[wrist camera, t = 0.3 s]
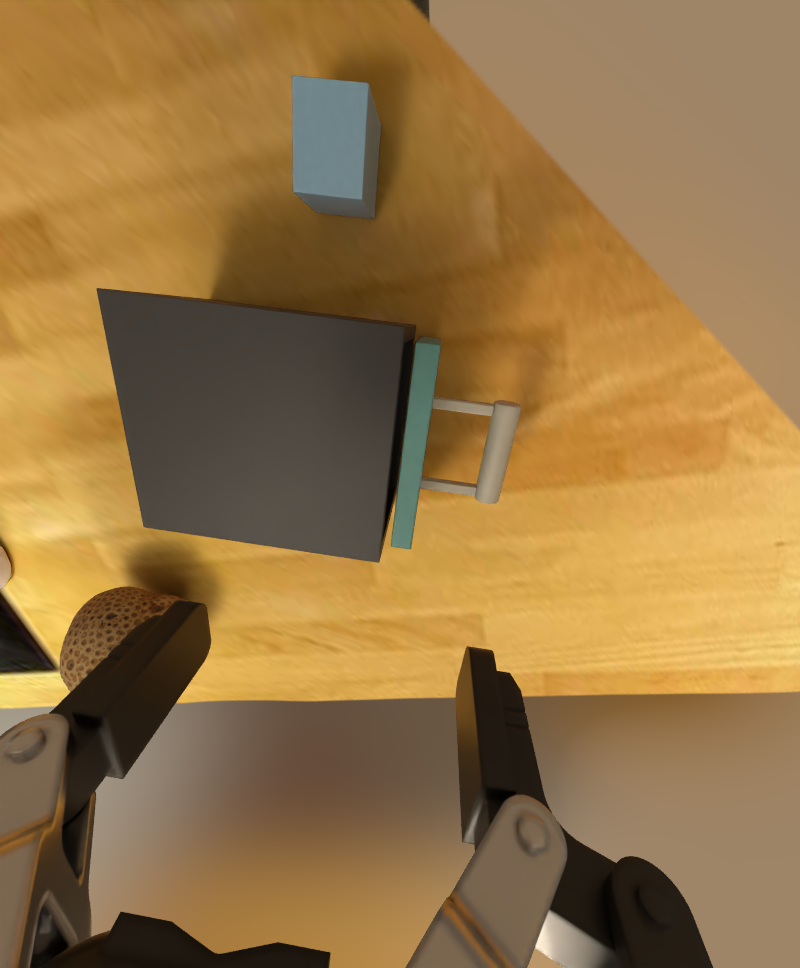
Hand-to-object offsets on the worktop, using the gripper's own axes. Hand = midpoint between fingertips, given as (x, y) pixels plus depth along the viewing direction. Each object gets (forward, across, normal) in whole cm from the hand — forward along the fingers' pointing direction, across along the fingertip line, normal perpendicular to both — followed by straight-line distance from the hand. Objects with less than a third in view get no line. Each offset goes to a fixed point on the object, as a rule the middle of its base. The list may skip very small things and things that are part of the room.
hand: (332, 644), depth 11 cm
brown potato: (+19, +21, +18) cm, 33 cm away
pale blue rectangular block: (+18, +5, -17) cm, 25 cm away
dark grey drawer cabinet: (+18, +7, -3) cm, 20 cm away
